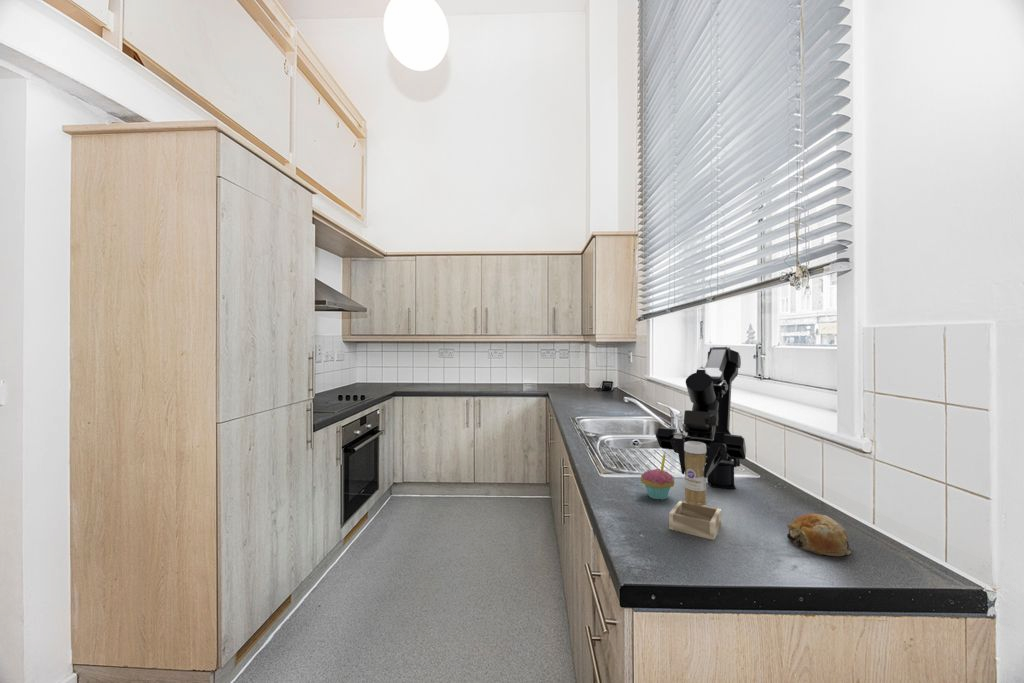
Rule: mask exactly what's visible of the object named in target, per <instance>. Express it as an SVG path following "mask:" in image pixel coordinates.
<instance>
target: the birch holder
mask: <svg viewBox="0 0 1024 683" xmlns="http://www.w3.org/2000/svg"><path fill="white" fill-rule="evenodd" d="M722 518H723V517H722V509H721V508H718V507H714V506H713V507H712V506H708V505H703V506H694V505H690V504H688V503H686V502H685V500H684V501H682V500H679V501H678V502H677V503H676V504H675V505H674V507H673V508H672V509H671V510H670V512H669V513H668V530H670V529H671V531H674V530H675V531H674V532H678V531H679V532H678V533H681V534H682V533H684V534H687V535H692V536H696V537H700V538H703V539H708V540H713V541H715V539H716V537H717V535H718V533H719V531H720V529H721V527H722V520H723V519H722Z"/></svg>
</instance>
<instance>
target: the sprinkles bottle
mask: <svg viewBox="0 0 1024 683" xmlns="http://www.w3.org/2000/svg"><path fill="white" fill-rule="evenodd" d="M684 451H685V473H684V502H686V503H688V504H690V505H694V506H703V505H704V506H706V504H707V497H706V496H707V495H706V494H707V491H706V490H707V478H705V477H704V471H705V466H706V463H705V462H706V459H705V458H706V456H705V455H706V444H705V443H702V442H697V441H687V442H685V443H684Z"/></svg>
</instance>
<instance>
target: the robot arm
mask: <svg viewBox="0 0 1024 683" xmlns="http://www.w3.org/2000/svg"><path fill="white" fill-rule="evenodd" d="M741 360H742V359H741V355H740V352H738V351H736V350H733V349H731V348H730V346H727V345H725V346H724V345H722V346H721V345H717V346H716V345H715V346H710V348H709V351H707V360H706V363H705V367H704V369H696V371H695V372H694V373H691V374H689V376H688V377H687V378H686V379H685V385H686V389H687V393H688V396H689V400H690V402H691V403H693V404H692V408H691V410H687V409H686V410H684V415H683V425H684V431H685V432H684V433H686V435H685V434H684V433H683V432H681V433H680V432H676V430H675V428H672V427H663V426H659V427H658V428H657V429H656V431H655V438H656V440H657V443H658V445H659V447H660V448H661V449H664V450H671V451H673V452H674V453H675V454H678V459H679V466H680V472H681V474H682V475H685V451H684V443H685V442H687V441H697V442H702V443H705V444H706V455H705V456H706V458H705V459H706V462H705V463H706V466H705V471H704V477H705V478H706V483H707V484H709V486H710V487H712V488H721V489H731V490H736V489H737V486H736V485H735V468H738V467H741V460H745V459H746V457H747V456H746V455H747V446H746V441H745V437H743V436H742V435H737V434H732V433H731V432H730V422H731V420H730V419H731V401H732V384H733V381H734V380H735V379H736V377H737V376H738V374H739V369H741V365H742V364H741V363H742V361H741Z"/></svg>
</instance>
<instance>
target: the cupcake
mask: <svg viewBox="0 0 1024 683" xmlns="http://www.w3.org/2000/svg"><path fill="white" fill-rule="evenodd" d="M661 459H662V460H661V466H660V468H654V469H650V470H649V469H648V470H646V471H644V472H643V473H642V474H641V476H640V482H641V483H642V484H643V485H644V486H645V489H646V492H647V495H648V497H649V498H651V499H655V500H659V499H661V500H666V499H668V495H669V494H670V490H671V488H672V487H675V478H674V475H672V474H671V473H670V472H668V471H666V470H664V467H665V461H666V452H664V454H662V457H661Z"/></svg>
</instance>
